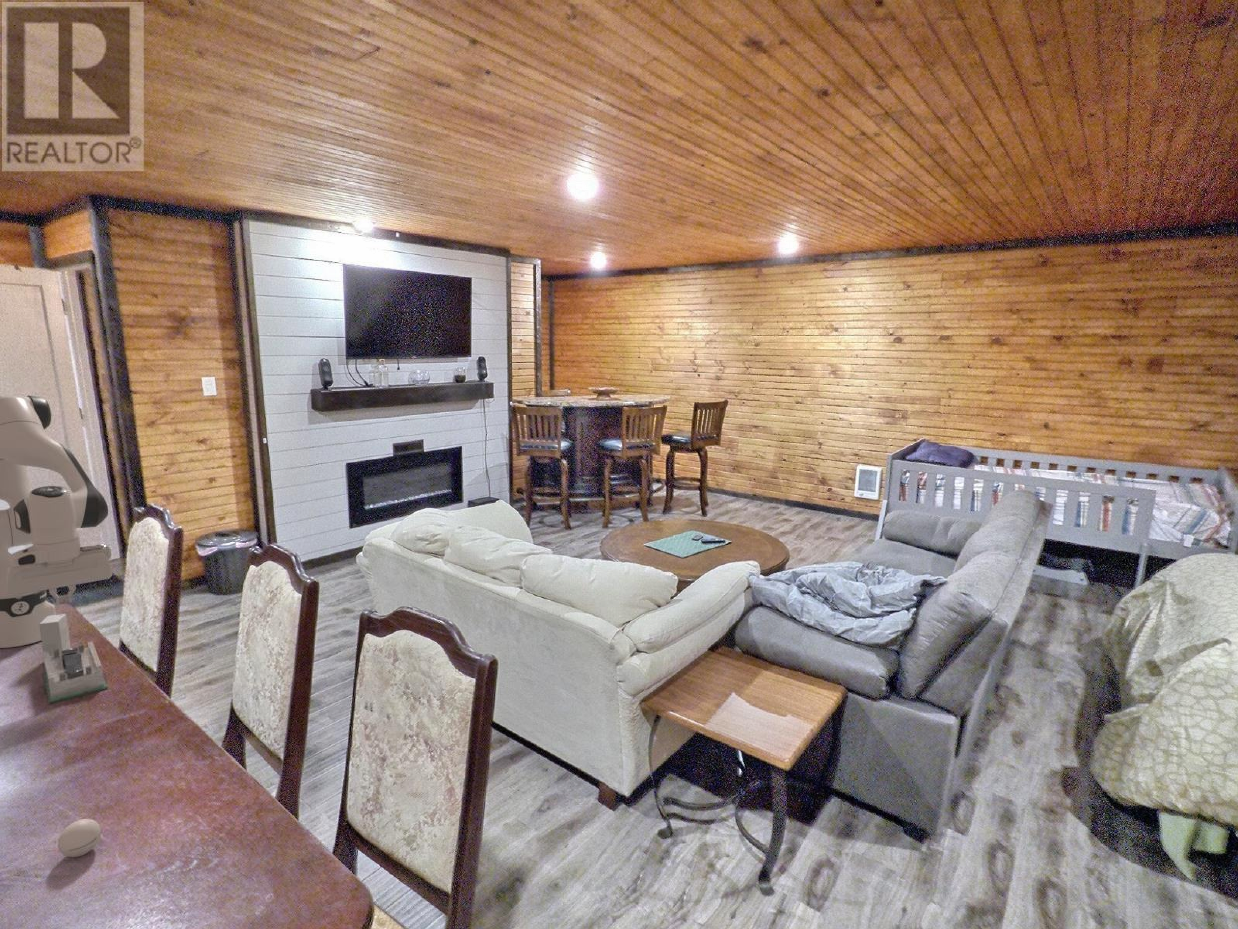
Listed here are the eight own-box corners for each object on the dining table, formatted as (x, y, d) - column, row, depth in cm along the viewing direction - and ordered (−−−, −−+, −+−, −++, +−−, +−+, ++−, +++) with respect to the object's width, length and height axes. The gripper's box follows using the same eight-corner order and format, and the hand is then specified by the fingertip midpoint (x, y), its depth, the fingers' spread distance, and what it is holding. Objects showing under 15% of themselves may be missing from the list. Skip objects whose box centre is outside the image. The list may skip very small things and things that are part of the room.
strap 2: (83, 674, 157) (83, 671, 157) (67, 678, 155) (67, 675, 155) (79, 654, 162) (79, 652, 161) (64, 658, 159) (63, 655, 159)
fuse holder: (43, 673, 166) (39, 649, 165) (96, 660, 174) (94, 637, 173) (49, 704, 152) (45, 679, 150) (107, 688, 159) (104, 664, 158)
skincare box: (52, 656, 176) (47, 615, 174) (72, 653, 177) (66, 613, 176) (43, 665, 170) (38, 623, 168) (64, 662, 172) (58, 621, 170)
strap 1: (61, 654, 167) (61, 651, 167) (76, 651, 169) (75, 647, 169) (63, 654, 161) (62, 650, 162) (78, 651, 164) (77, 647, 164)
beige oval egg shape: (57, 871, 103) (53, 840, 102) (62, 849, 108) (58, 820, 107) (117, 850, 108) (113, 821, 107) (118, 830, 112) (115, 802, 111)
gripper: (108, 540, 168) (113, 590, 171) (1, 556, 154) (9, 609, 156) (111, 545, 164) (117, 596, 166) (2, 562, 150) (10, 617, 152)
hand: (64, 602), depth 161 cm, fingers closed
